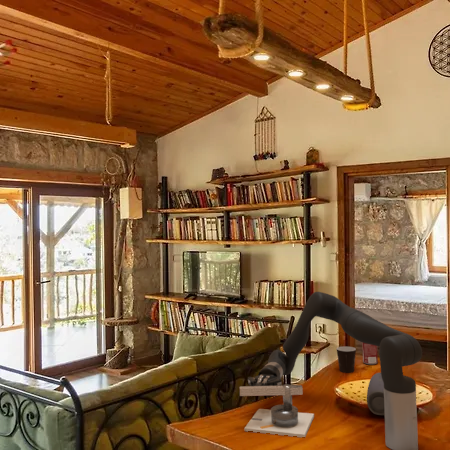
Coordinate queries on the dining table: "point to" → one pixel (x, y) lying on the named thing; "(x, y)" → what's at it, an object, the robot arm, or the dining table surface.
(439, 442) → the dining table surface
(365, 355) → the soda can
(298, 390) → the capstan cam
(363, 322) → the robot arm
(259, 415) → the board
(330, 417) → the dining table surface
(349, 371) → the coffee mug
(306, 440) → the dining table surface
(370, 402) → the bluetooth speaker
